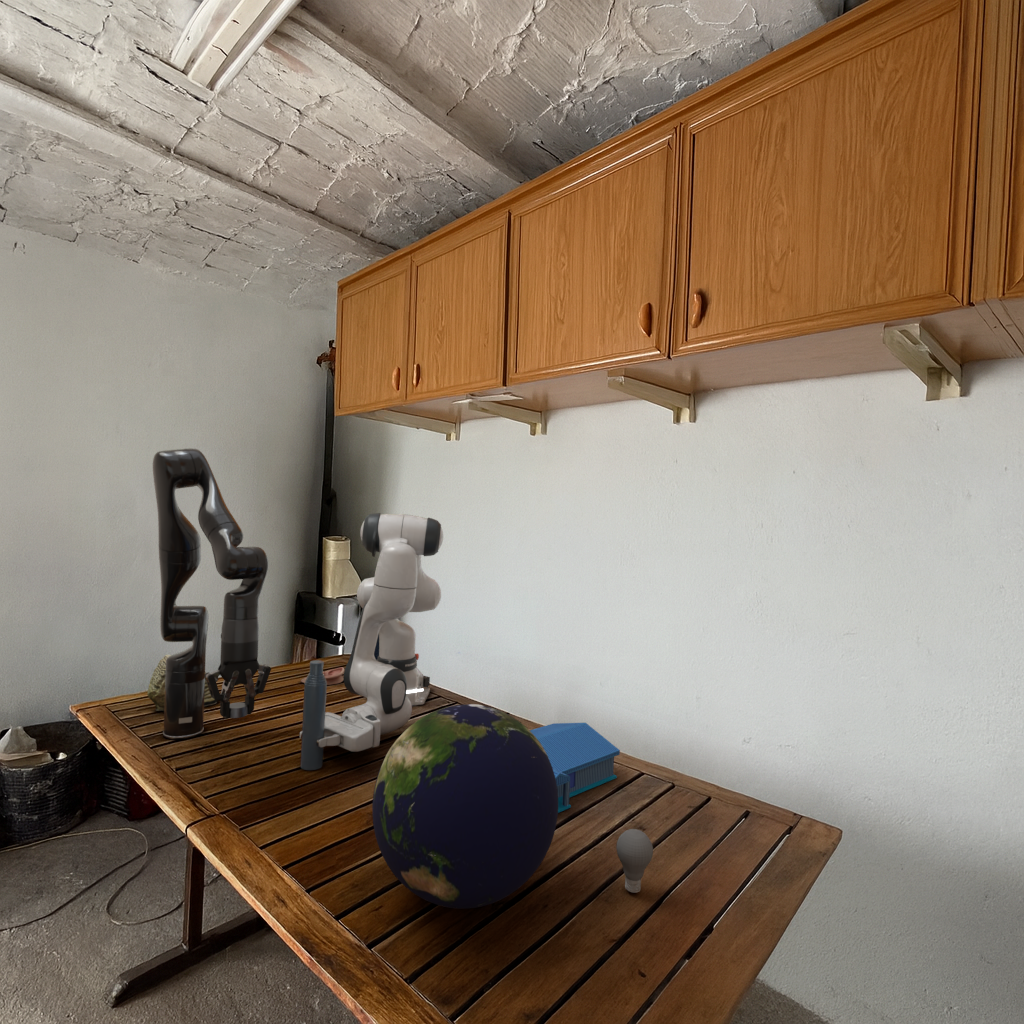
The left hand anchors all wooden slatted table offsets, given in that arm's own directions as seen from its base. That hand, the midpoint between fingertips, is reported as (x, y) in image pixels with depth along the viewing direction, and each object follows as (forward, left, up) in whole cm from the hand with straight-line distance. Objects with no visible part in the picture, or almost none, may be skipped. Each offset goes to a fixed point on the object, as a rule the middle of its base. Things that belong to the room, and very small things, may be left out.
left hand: (237, 715), depth 139 cm
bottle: (+3, +17, -15) cm, 22 cm away
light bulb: (+80, +36, -15) cm, 89 cm away
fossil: (-57, +6, -15) cm, 59 cm away
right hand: (+3, +16, -8) cm, 18 cm away
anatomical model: (-58, +50, -15) cm, 78 cm away
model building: (+42, +50, -15) cm, 67 cm away
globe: (+62, +14, -15) cm, 66 cm away
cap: (0, 0, +2) cm, 2 cm away
